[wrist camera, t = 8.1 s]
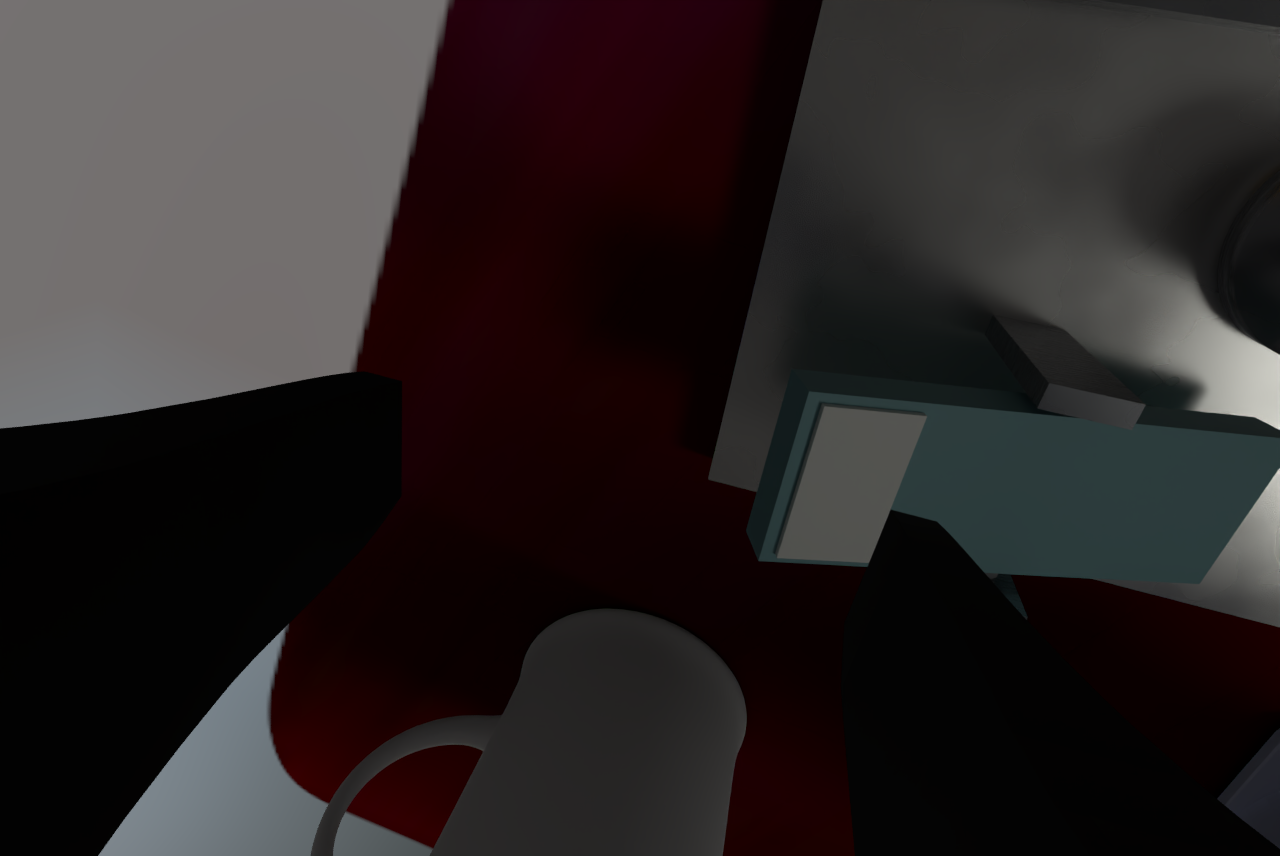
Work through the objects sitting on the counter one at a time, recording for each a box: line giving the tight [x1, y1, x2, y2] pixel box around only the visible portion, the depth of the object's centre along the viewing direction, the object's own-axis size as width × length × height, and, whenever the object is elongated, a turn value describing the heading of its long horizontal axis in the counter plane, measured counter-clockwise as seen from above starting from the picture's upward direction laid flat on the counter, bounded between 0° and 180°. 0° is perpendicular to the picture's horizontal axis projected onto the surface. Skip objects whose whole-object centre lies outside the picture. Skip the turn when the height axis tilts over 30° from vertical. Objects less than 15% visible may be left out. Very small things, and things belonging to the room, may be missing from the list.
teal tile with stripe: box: [746, 369, 1280, 584], centre depth 14 cm, size 11×4×1 cm, turn 81°
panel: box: [708, 0, 1280, 627], centre depth 13 cm, size 15×18×6 cm
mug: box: [311, 609, 747, 856], centre depth 20 cm, size 12×8×12 cm
